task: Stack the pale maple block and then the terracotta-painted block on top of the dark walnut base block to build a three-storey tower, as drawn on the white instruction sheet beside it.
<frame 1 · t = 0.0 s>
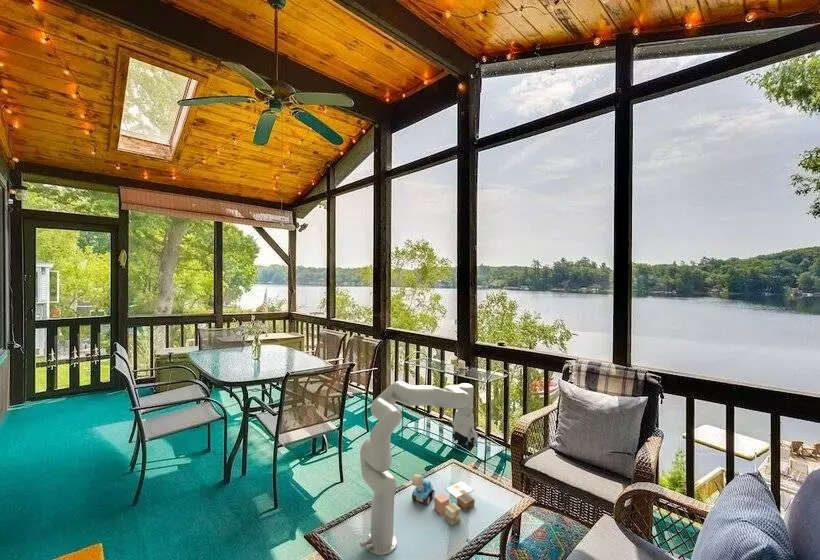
hand: (463, 444, 183), 31 cm above the table, fingers open, 9 cm apart
toy excavator: (420, 502, 187), on the table
maple block: (452, 519, 175), on the table
terracotta block: (441, 509, 182), on the table
walnut base block: (465, 506, 185), on the table
instruction sheet: (459, 489, 198), on the table
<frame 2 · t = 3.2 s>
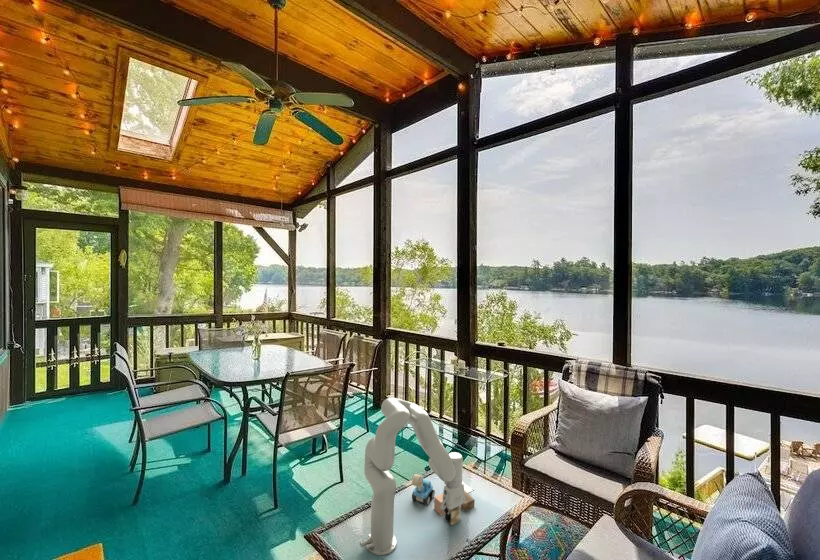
hand: (452, 518, 175), 1 cm above the table, fingers closed on maple block, 5 cm apart
maple block: (452, 519, 175), on the table, touching gripper
everything else where it was.
when the fingers open (6 cm above the table, at t = 7.9 s): maple block drops 1 cm, resting on walnut base block.
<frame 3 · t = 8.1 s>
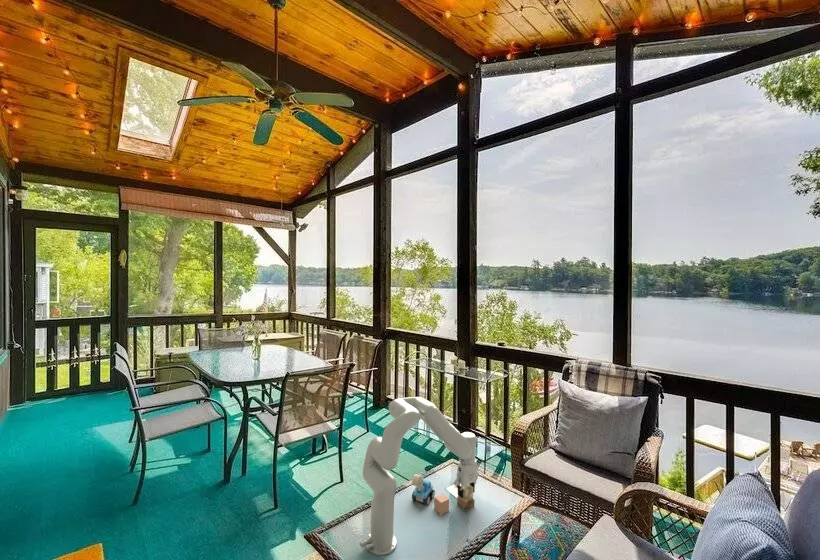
hand: (466, 493, 185), 6 cm above the table, fingers open, 7 cm apart
maple block: (465, 498, 185), point 4 cm above the table, touching walnut base block
walnut base block: (465, 505, 185), on the table, touching maple block
everything else where it was.
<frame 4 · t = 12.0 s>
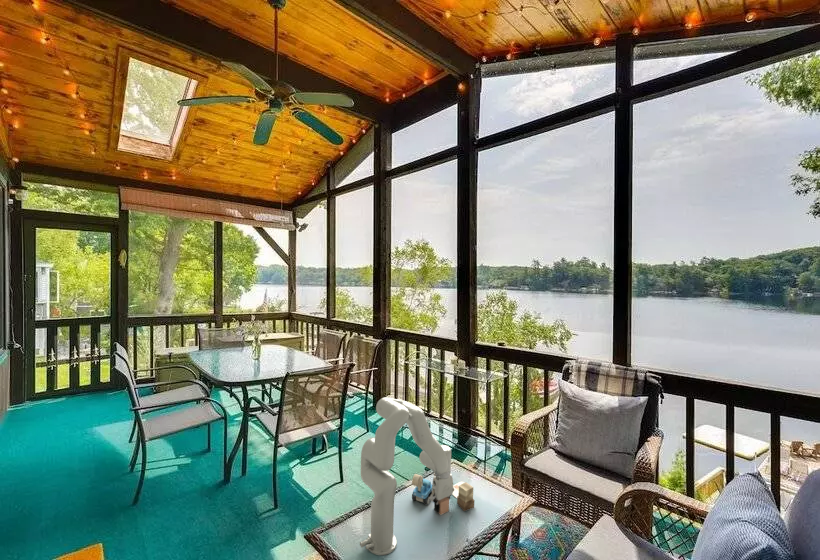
hand: (441, 508, 182), 1 cm above the table, fingers closed on terracotta block, 5 cm apart
terracotta block: (441, 509, 182), on the table, touching gripper
everything else where it was.
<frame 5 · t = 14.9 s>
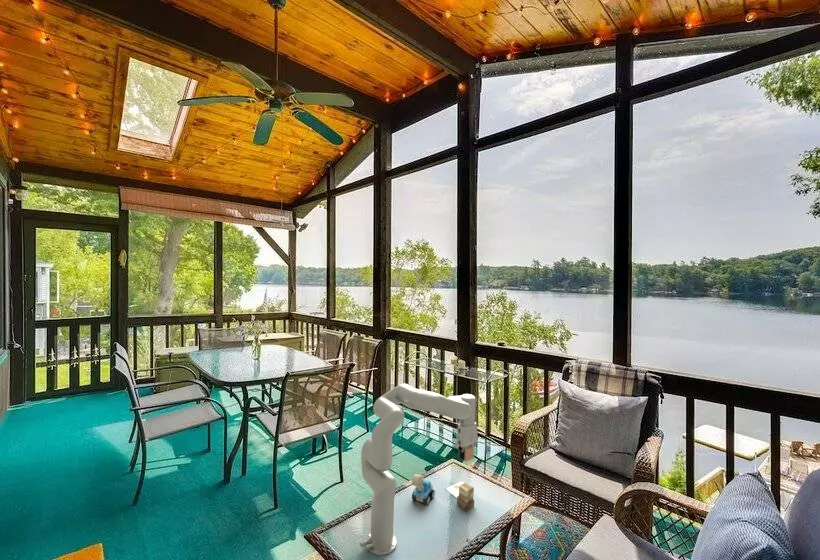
hand: (466, 456, 183), 25 cm above the table, fingers closed on terracotta block, 5 cm apart
terracotta block: (465, 457, 183), point 24 cm above the table, touching gripper
everything else where it was.
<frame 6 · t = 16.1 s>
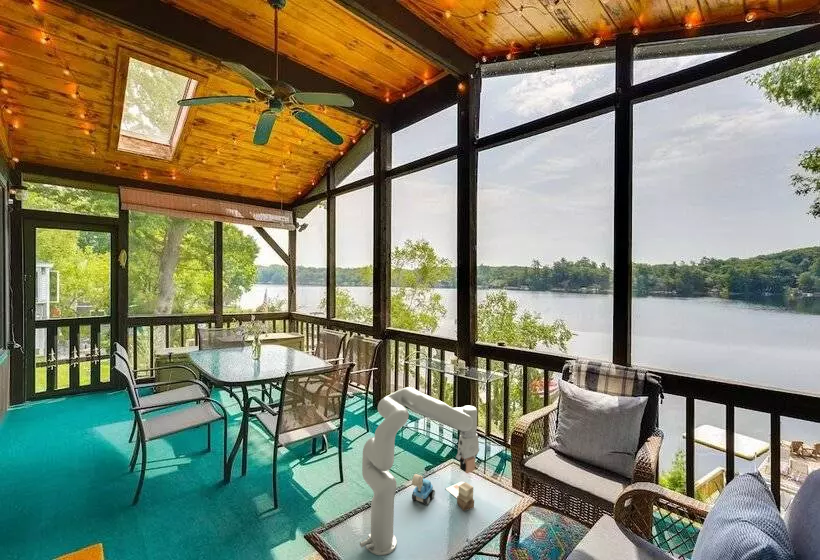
hand: (467, 467, 184), 19 cm above the table, fingers closed on terracotta block, 5 cm apart
terracotta block: (467, 469, 184), point 18 cm above the table, touching gripper
everything else where it was.
when the fingers open (12 cm above the table, at t = 17.8 s): terracotta block drops 1 cm, resting on maple block.
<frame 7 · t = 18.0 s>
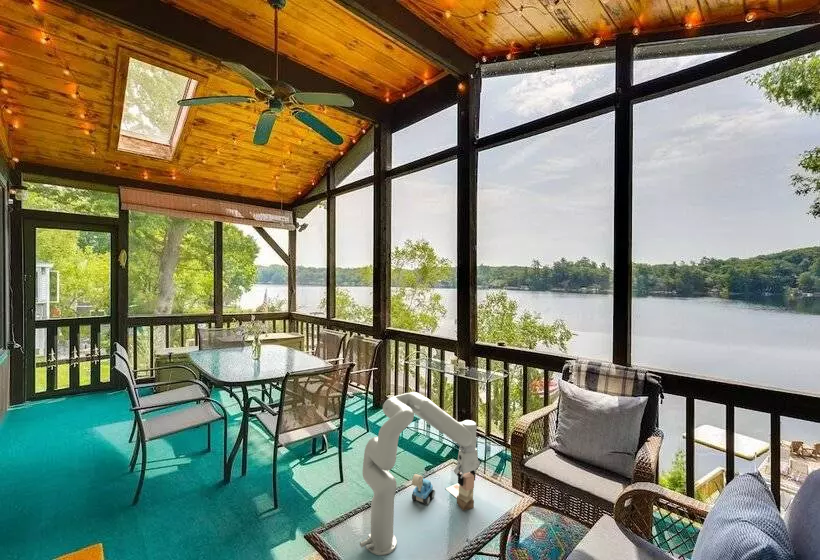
hand: (466, 481, 184), 12 cm above the table, fingers open, 7 cm apart
maple block: (465, 498, 185), point 4 cm above the table, touching terracotta block, walnut base block
terracotta block: (466, 486, 184), point 10 cm above the table, touching maple block
everything else where it was.
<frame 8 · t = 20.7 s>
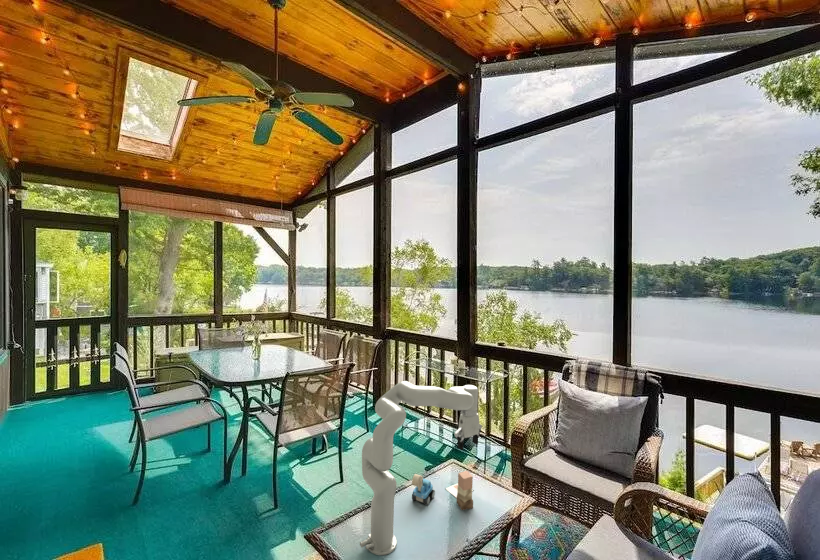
hand: (467, 445, 183), 30 cm above the table, fingers open, 9 cm apart
at the end: maple block 0.1 cm off-centre on the walnut base block, point 4.1 cm above the walnut base block's base; terracotta block 0.3 cm off-centre on the walnut base block, point 10.1 cm above the walnut base block's base; terracotta block tilted 2° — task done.
